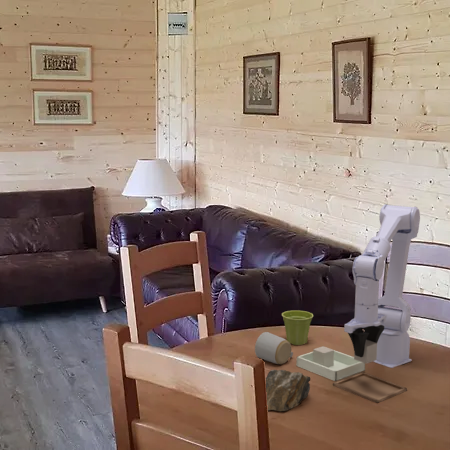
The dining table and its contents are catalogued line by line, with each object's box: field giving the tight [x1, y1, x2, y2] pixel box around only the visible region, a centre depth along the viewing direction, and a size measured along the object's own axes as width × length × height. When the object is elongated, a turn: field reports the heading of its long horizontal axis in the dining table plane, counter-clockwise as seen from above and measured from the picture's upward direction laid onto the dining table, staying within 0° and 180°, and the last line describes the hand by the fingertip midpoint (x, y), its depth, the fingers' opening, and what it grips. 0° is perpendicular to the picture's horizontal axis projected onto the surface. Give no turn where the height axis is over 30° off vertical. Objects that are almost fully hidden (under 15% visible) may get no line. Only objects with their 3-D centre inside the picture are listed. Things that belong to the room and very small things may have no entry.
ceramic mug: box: [254, 331, 294, 365], centre depth 199 cm, size 11×8×8 cm
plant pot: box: [281, 310, 314, 346], centre depth 214 cm, size 9×9×9 cm
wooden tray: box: [332, 371, 408, 404], centre depth 179 cm, size 12×14×1 cm
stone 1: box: [312, 345, 335, 367], centre depth 194 cm, size 4×4×4 cm
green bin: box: [295, 349, 366, 382], centre depth 192 cm, size 12×14×3 cm
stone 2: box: [353, 340, 377, 365], centre depth 180 cm, size 4×4×4 cm
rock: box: [265, 369, 312, 412], centre depth 172 cm, size 14×11×10 cm
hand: (364, 353), depth 181 cm, fingers closed on stone 2, 4 cm apart
